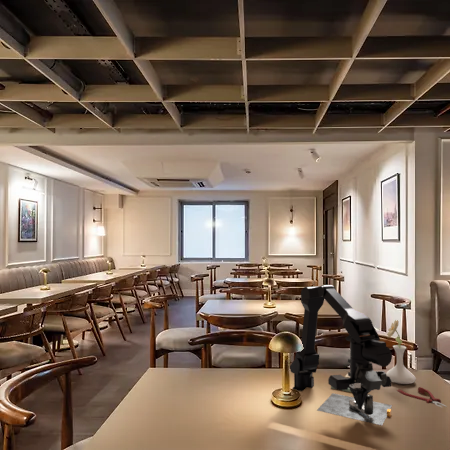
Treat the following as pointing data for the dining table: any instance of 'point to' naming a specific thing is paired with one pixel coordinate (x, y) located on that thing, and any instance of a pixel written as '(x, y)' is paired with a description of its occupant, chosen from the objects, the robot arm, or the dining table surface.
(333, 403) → the base
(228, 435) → the dining table surface
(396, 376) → the flower in vase
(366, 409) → the crank
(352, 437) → the dining table surface
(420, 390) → the pliers
